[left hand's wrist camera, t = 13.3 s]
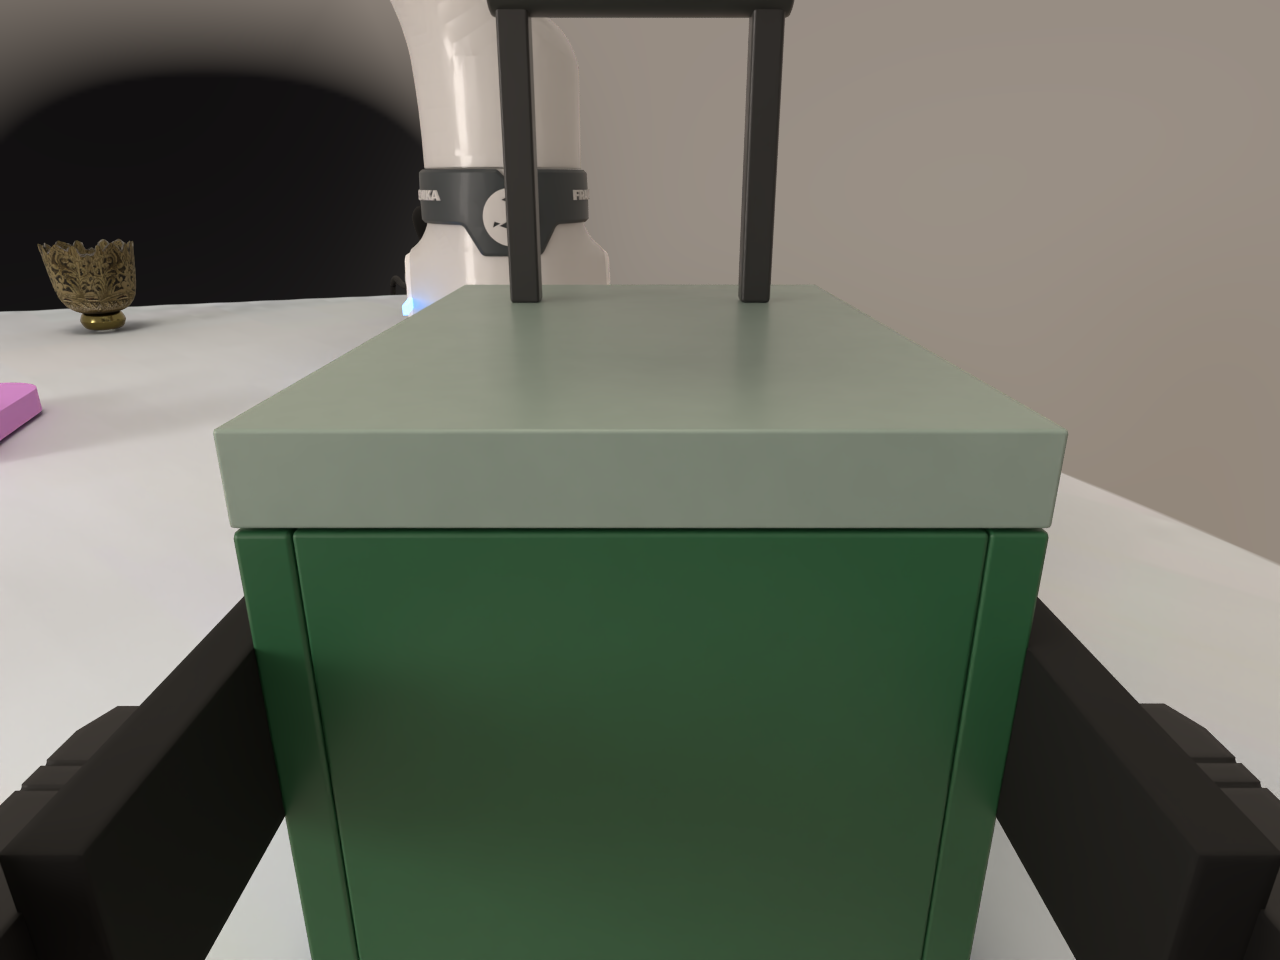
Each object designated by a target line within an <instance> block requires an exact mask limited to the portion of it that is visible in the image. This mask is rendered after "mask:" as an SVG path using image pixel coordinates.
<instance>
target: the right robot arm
mask: <svg viewBox="0 0 1280 960" xmlns="http://www.w3.org/2000/svg"><path fill="white" fill-rule="evenodd" d="M390 1H391V3H392V5H393V7H394V10H395V12H396V14H397V17H398V19H399V21H400V24H401V27H402V30H403V33H404V36H405V39H406V42H407V46H408V50H409V54H410V58H411V64H412V70H413V75H414V82H415V88H416V95H417V101H418V109H419V117H420V125H421V134H422V144H423V155H424V167H425V168H427V169H425V170H421V171H420V172H419V181H420V190H418V192H419V200H421V212H422V220H423V221H424V222H425V223H427V227H426V230H425V232H424V235H423V237H422V239H421V240H420V241H419V243H418V244H417V245H416V246H415V247H413V248H412V249H411V252H410V253H409V254H407V255H406V257H405V270H406V272H405V281H406V283H404V282H403V281H402V280H401V279H400V278H399V277H398V276H393V277H392V279H391V284H390V295H396V282H397V283H398V285H399V286H400V287H402V288H404V289H407V301H406V302H405V303H404V304H403V305H402V307H403V315H408V316H409V317H410V316H412V315H414V314H415V313H417V312H419V311H420V310H422V309H424V308H426V307H427V306H429V305H431V304H433V303H434V302H436V301H438V300H440V299H441V298H443V297H445V296H446V295H448V294H450V293H452V292H453V291H455V290H457V289H459V288H460V287H462V286H464V285H510V280H509V262H508V243H507V224H506V205H505V186H504V167H503V148H502V129H501V110H500V91H499V72H498V54H497V35H496V18H495V17H493V16H492V15H491V14H490V11H489V9H488V5H487V0H390ZM531 21H532V46H533V72H534V97H535V122H536V147H537V172H538V198H539V223H540V248H541V273H542V285H610V269H609V257H608V253H607V252H606V251H605V250H603V248H602V247H601V246H600V245H599V244H597V243H596V242H595V241H594V240H593V239H592V237H591V236H590V234H589V233H588V231H587V229H586V227H585V224H584V222H585V221H586V220H587V219H588V199H589V190H588V188H587V174H586V172H585V171H584V170H568V169H581V153H580V108H579V67H578V63H577V59H576V56H575V53H574V51H573V48H572V46H571V44H570V42H569V40H568V39H567V37H566V36H565V34H564V33H563V32H562V30H561V29H560V28H559V27H558V26H557V25H556V24H555V23H553V22H552V21H551V20H550V19H549V18H531Z"/></svg>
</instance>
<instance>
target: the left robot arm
mask: <svg viewBox="0 0 1280 960" xmlns="http://www.w3.org/2000/svg"><path fill="white" fill-rule="evenodd" d="M284 817H285V812H284V807H283V802H282V796H281V791H280V785H279V780H278V775H277V769H276V764H275V759H274V753H273V748H272V742H271V737H270V732H269V726H268V721H267V715H266V710H265V705H264V699H263V694H262V688H261V683H260V678H259V672H258V667H257V661H256V656H255V651H254V645H253V640H252V634H251V629H250V624H249V618H248V613H247V607H246V602H245V597H243V598H242V599H241V600H240V601H239V602H238V603H237V604H236V605H235V606H234V607H233V608H232V609H231V611H230V612H229V613H228V614H227V615H226V616H225V617H224V618H223V619H222V620H221V621H220V622H219V623H218V624H217V625H216V626H215V627H214V628H213V629H212V630H211V632H210V633H209V634H208V635H207V636H206V637H205V638H204V639H203V640H202V641H201V642H200V643H199V644H198V645H197V646H196V647H195V648H194V649H193V650H192V651H191V652H190V654H189V655H188V656H187V657H186V658H185V659H184V660H183V661H182V662H181V663H180V664H179V665H178V666H177V667H176V668H175V669H174V670H173V671H172V672H171V673H170V675H169V676H168V677H167V678H166V679H165V680H164V681H163V682H162V683H161V684H160V685H159V686H158V687H157V688H156V689H155V690H154V691H153V692H152V693H151V694H150V696H149V697H148V698H147V699H146V700H145V701H144V702H143V703H142V704H141V705H140V706H117V707H115V708H114V709H112V710H110V711H109V712H107V713H105V714H104V715H102V716H100V717H99V718H97V719H96V720H94V721H92V722H91V723H89V724H87V725H86V726H84V727H82V728H81V729H79V730H77V731H76V732H75V733H74V734H73V735H72V736H71V737H70V738H69V739H68V740H67V741H66V742H65V743H64V744H63V745H62V746H61V747H60V748H59V749H58V750H57V751H55V752H54V753H53V754H52V755H51V756H50V757H49V758H48V759H47V763H46V766H40V767H39V768H38V769H37V770H36V771H35V772H34V773H33V774H32V775H31V776H30V777H29V778H28V779H27V780H26V781H25V782H24V783H23V784H22V788H21V790H20V791H15V792H13V793H12V794H11V795H10V796H9V797H8V798H7V799H6V800H5V801H4V802H3V803H2V804H1V805H0V960H205V958H206V957H207V955H208V953H209V951H210V949H211V948H212V946H213V944H214V942H215V941H216V939H217V937H218V935H219V933H220V932H221V930H222V928H223V926H224V924H225V923H226V921H227V919H228V917H229V915H230V914H231V912H232V910H233V908H234V907H235V905H236V903H237V901H238V899H239V898H240V896H241V894H242V892H243V890H244V889H245V887H246V885H247V883H248V881H249V880H250V878H251V876H252V874H253V872H254V871H255V869H256V867H257V865H258V864H259V862H260V860H261V858H262V856H263V855H264V853H265V851H266V849H267V847H268V846H269V844H270V842H271V840H272V838H273V837H274V835H275V833H276V831H277V830H278V828H279V826H280V824H281V822H282V821H283V819H284ZM996 817H997V819H998V821H999V823H1000V824H1001V826H1002V828H1003V830H1004V832H1005V833H1006V835H1007V837H1008V839H1009V840H1010V842H1011V844H1012V846H1013V848H1014V849H1015V851H1016V853H1017V855H1018V857H1019V858H1020V860H1021V862H1022V864H1023V866H1024V867H1025V869H1026V871H1027V873H1028V874H1029V876H1030V878H1031V880H1032V882H1033V883H1034V885H1035V887H1036V889H1037V891H1038V892H1039V894H1040V896H1041V898H1042V900H1043V901H1044V903H1045V905H1046V907H1047V908H1048V910H1049V912H1050V914H1051V916H1052V917H1053V919H1054V921H1055V923H1056V925H1057V926H1058V928H1059V930H1060V932H1061V934H1062V935H1063V937H1064V939H1065V941H1066V942H1067V944H1068V946H1069V948H1070V950H1071V951H1072V953H1073V955H1074V957H1075V959H1076V960H1280V800H1279V799H1278V798H1277V797H1276V796H1275V795H1274V794H1273V793H1272V792H1270V791H1269V790H1268V789H1267V788H1262V787H1261V785H1260V781H1259V780H1258V779H1257V778H1256V777H1255V776H1254V775H1253V774H1252V773H1251V772H1250V771H1249V770H1248V769H1247V768H1246V767H1245V766H1244V765H1243V764H1242V763H1236V761H1235V757H1234V756H1233V755H1232V754H1231V753H1230V752H1229V751H1228V750H1227V749H1226V748H1225V747H1224V746H1223V745H1222V744H1221V743H1220V742H1219V741H1218V740H1217V739H1216V738H1215V737H1214V736H1213V735H1212V734H1211V733H1210V732H1209V731H1208V730H1207V729H1206V728H1204V727H1202V726H1201V725H1199V724H1197V723H1196V722H1194V721H1192V720H1191V719H1189V718H1187V717H1186V716H1184V715H1182V714H1181V713H1179V712H1177V711H1176V710H1174V709H1172V708H1171V707H1169V706H1167V705H1166V704H1139V703H1138V702H1137V701H1136V700H1135V699H1134V698H1133V697H1132V696H1131V694H1130V693H1129V692H1128V691H1127V690H1126V689H1125V688H1124V687H1123V686H1122V685H1121V684H1120V683H1119V682H1118V681H1117V680H1116V679H1115V678H1114V677H1113V676H1112V675H1111V674H1110V672H1109V671H1108V670H1107V669H1106V668H1105V667H1104V666H1103V665H1102V664H1101V663H1100V662H1099V661H1098V660H1097V659H1096V658H1095V657H1094V656H1093V655H1092V654H1091V653H1090V651H1089V650H1088V649H1087V648H1086V647H1085V646H1084V645H1083V644H1082V643H1081V642H1080V641H1079V640H1078V639H1077V638H1076V637H1075V636H1074V635H1073V634H1072V633H1071V632H1070V630H1069V629H1068V628H1067V627H1066V626H1065V625H1064V624H1063V623H1062V622H1061V621H1060V620H1059V619H1058V618H1057V617H1056V616H1055V615H1054V614H1053V613H1052V612H1051V611H1050V610H1049V608H1048V607H1047V606H1046V605H1045V604H1044V603H1043V602H1042V601H1041V600H1040V599H1039V598H1038V597H1037V601H1036V607H1035V612H1034V617H1033V623H1032V628H1031V634H1030V639H1029V644H1028V648H1027V652H1026V657H1025V663H1024V668H1023V673H1022V679H1021V684H1020V689H1019V695H1018V700H1017V706H1016V711H1015V716H1014V722H1013V727H1012V732H1011V738H1010V743H1009V749H1008V754H1007V759H1006V765H1005V770H1004V775H1003V781H1002V786H1001V791H1000V797H999V802H998V808H997V813H996Z"/></svg>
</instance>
